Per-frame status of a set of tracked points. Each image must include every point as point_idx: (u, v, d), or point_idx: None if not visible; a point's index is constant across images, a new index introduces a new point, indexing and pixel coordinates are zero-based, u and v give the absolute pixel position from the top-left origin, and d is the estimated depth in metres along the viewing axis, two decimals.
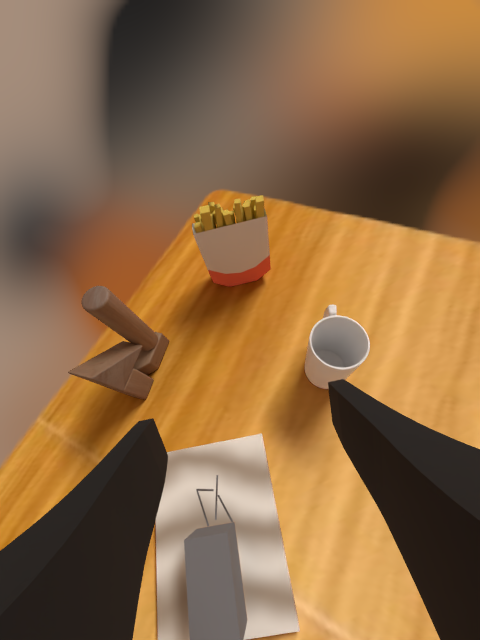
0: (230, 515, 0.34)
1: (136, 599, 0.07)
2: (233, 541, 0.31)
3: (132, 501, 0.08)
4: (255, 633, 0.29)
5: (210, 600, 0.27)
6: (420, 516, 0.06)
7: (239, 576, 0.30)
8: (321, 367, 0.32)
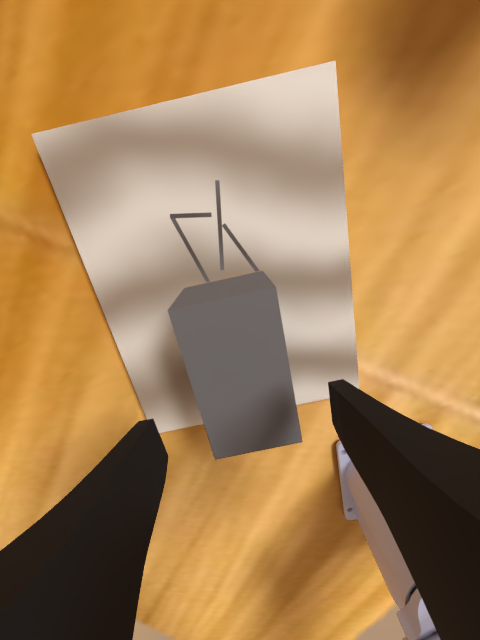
0: (252, 261, 0.16)
1: (136, 600, 0.07)
2: None
3: (132, 501, 0.08)
4: None
5: (243, 395, 0.14)
6: (420, 516, 0.06)
7: None
8: None
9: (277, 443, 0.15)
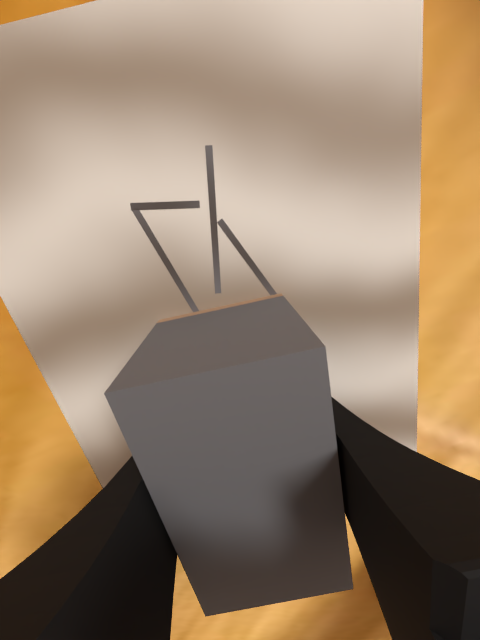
0: (266, 279, 0.10)
1: (171, 593, 0.07)
2: None
3: None
4: None
5: (255, 528, 0.08)
6: (372, 525, 0.06)
7: None
8: None
9: (311, 592, 0.09)
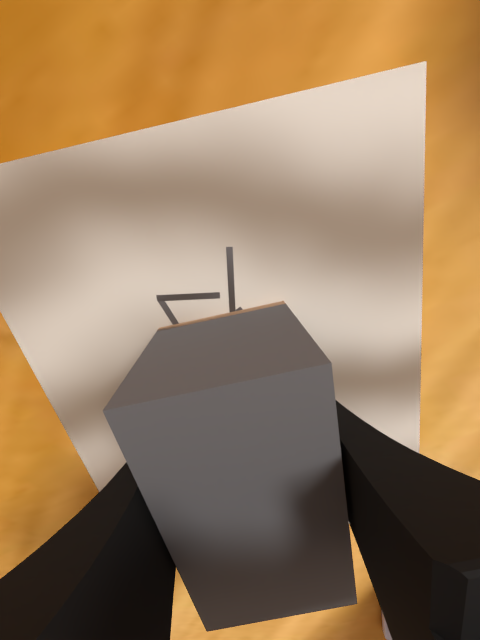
0: None
1: (172, 593, 0.07)
2: None
3: None
4: None
5: (257, 545, 0.07)
6: (372, 525, 0.06)
7: None
8: None
9: (314, 607, 0.08)
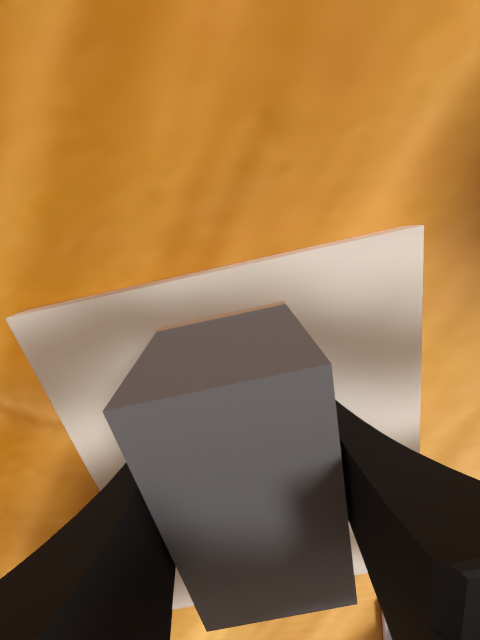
0: None
1: (171, 593, 0.07)
2: None
3: None
4: None
5: (257, 545, 0.07)
6: (372, 525, 0.06)
7: None
8: None
9: (314, 607, 0.09)
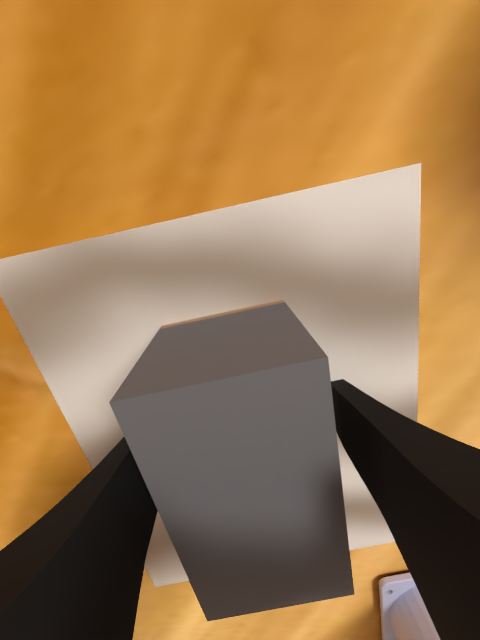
0: None
1: (136, 599, 0.07)
2: None
3: (132, 501, 0.08)
4: None
5: (257, 535, 0.08)
6: (420, 516, 0.06)
7: None
8: None
9: (312, 597, 0.09)
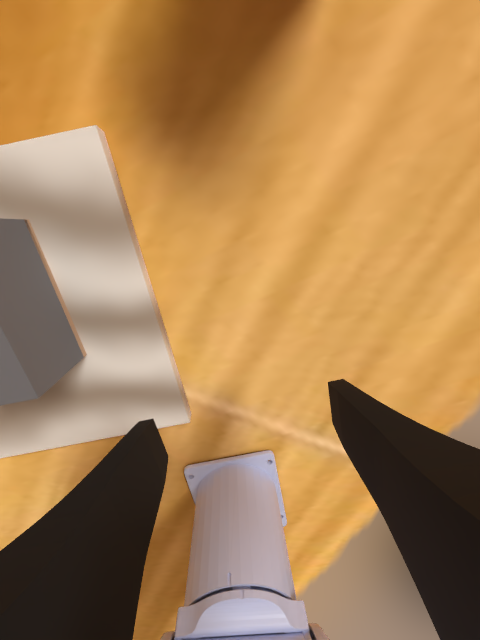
0: None
1: (136, 600, 0.07)
2: (10, 247, 0.14)
3: (132, 501, 0.08)
4: (128, 430, 0.21)
5: None
6: (420, 516, 0.06)
7: (48, 304, 0.16)
8: None
9: (11, 399, 0.14)
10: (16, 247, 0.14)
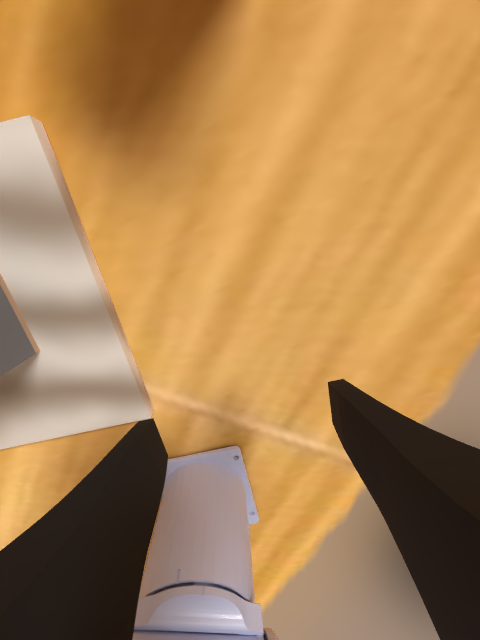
0: None
1: (136, 600, 0.07)
2: None
3: (132, 501, 0.08)
4: (89, 427, 0.20)
5: None
6: (420, 516, 0.06)
7: None
8: None
9: None
10: None
